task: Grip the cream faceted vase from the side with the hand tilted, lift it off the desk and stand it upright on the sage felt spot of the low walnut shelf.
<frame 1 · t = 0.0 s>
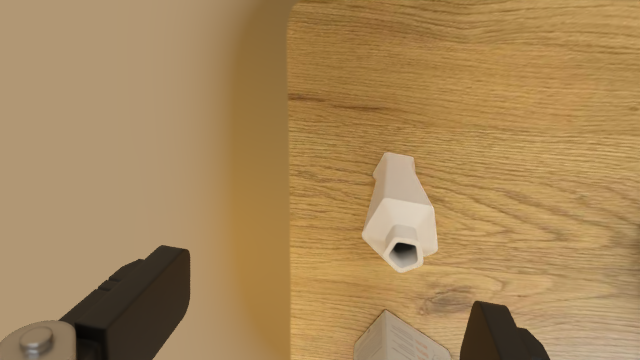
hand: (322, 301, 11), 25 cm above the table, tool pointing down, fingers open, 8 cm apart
small box: (401, 345, 41), on the table
cream faceted vase: (397, 173, 36), on the table
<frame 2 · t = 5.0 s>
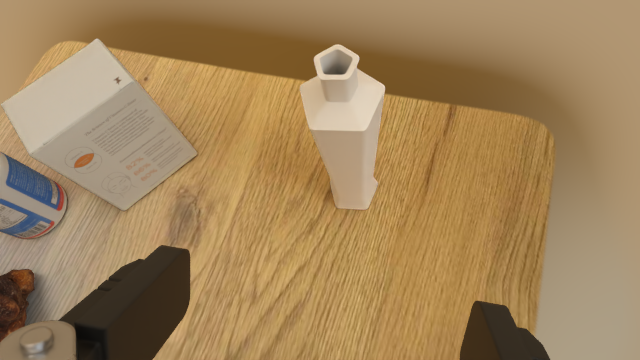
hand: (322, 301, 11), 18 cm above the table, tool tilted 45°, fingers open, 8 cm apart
pill bottle: (41, 211, 36), on the table
small box: (148, 164, 36), on the table
cream faceted vase: (351, 191, 33), on the table
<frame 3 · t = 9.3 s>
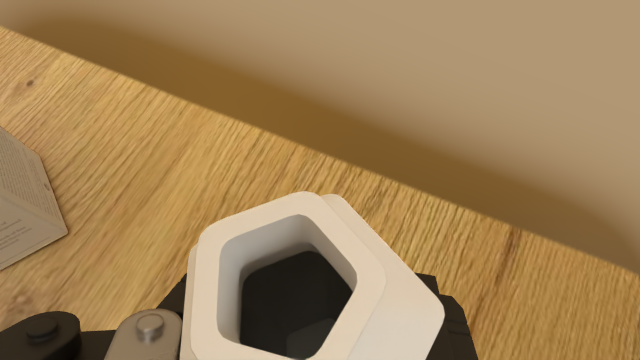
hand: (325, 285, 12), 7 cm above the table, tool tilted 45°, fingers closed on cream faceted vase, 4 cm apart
when the fingers open (11 cm above the table, at t = 18.2 s): cream faceted vase stays where it is, resting on shelf.
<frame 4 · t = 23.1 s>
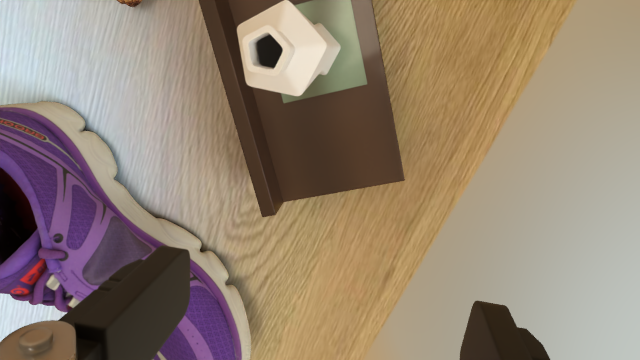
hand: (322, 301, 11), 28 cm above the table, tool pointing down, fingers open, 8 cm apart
running shoe: (143, 236, 45), on the table
shelf: (318, 86, 37), on the table
cream faceted vase: (313, 52, 32), point 4 cm above the table, touching shelf
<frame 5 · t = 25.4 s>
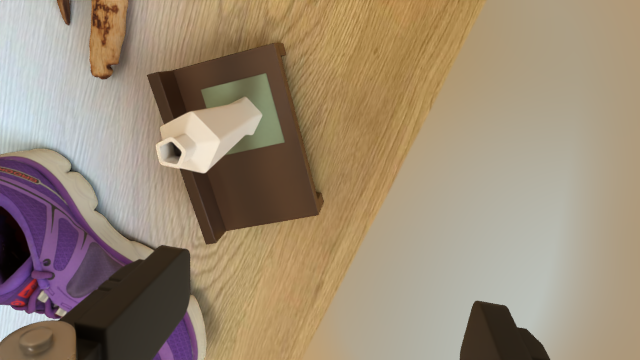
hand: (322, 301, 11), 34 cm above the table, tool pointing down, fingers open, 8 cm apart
running shoe: (120, 255, 54), on the table
shelf: (254, 137, 46), on the table
cream faceted vase: (242, 117, 41), point 4 cm above the table, touching shelf
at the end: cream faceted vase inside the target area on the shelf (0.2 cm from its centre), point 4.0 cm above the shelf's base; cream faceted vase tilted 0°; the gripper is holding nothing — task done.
